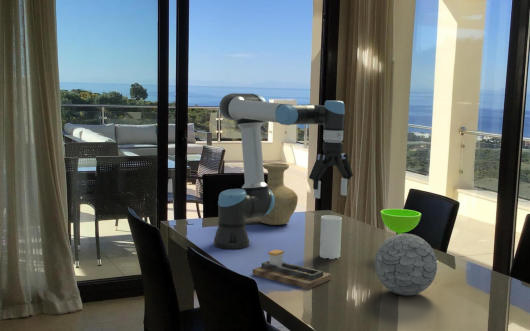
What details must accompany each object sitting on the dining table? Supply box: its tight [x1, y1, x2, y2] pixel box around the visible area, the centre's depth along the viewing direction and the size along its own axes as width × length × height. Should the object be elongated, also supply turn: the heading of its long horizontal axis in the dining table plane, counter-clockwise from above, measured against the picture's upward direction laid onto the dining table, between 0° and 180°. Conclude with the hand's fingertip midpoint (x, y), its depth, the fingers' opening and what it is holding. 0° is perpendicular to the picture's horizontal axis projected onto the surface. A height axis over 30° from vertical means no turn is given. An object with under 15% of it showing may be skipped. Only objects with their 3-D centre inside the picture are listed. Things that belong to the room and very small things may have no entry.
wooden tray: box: [252, 260, 332, 290], centre depth 206 cm, size 24×14×4 cm, turn 53°
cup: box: [319, 214, 343, 260], centre depth 234 cm, size 8×8×16 cm
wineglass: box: [380, 208, 422, 235], centre depth 236 cm, size 16×16×18 cm
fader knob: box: [268, 249, 285, 267], centre depth 210 cm, size 3×5×6 cm
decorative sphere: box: [374, 232, 438, 296], centre depth 190 cm, size 20×20×20 cm
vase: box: [258, 162, 299, 226], centre depth 290 cm, size 22×22×30 cm
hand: (330, 196), depth 224 cm, fingers open, 13 cm apart
